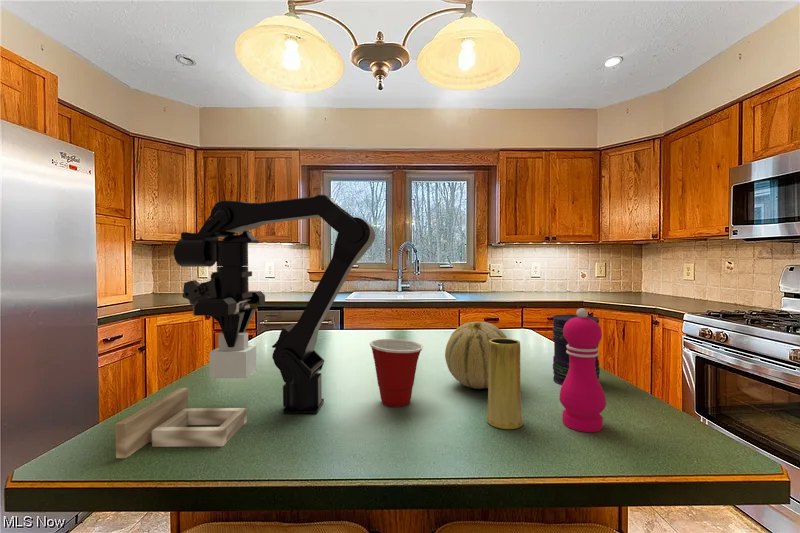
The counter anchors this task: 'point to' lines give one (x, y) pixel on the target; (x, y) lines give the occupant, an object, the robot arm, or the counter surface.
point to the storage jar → (564, 349)
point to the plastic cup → (395, 369)
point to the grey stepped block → (233, 358)
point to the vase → (504, 384)
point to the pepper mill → (582, 375)
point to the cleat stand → (177, 425)
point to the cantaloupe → (471, 353)
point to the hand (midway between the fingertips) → (233, 345)
